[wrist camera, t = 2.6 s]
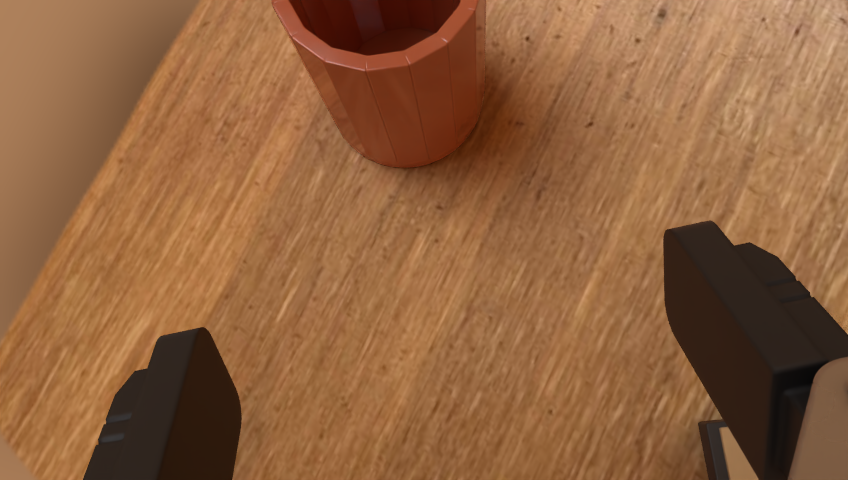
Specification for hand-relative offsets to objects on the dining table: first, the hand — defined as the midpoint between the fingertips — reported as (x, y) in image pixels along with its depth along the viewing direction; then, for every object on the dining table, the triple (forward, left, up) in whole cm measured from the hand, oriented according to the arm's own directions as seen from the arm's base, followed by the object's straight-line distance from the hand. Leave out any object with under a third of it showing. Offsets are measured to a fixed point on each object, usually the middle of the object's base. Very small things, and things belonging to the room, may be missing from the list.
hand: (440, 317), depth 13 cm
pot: (-1, +11, -15) cm, 18 cm away
